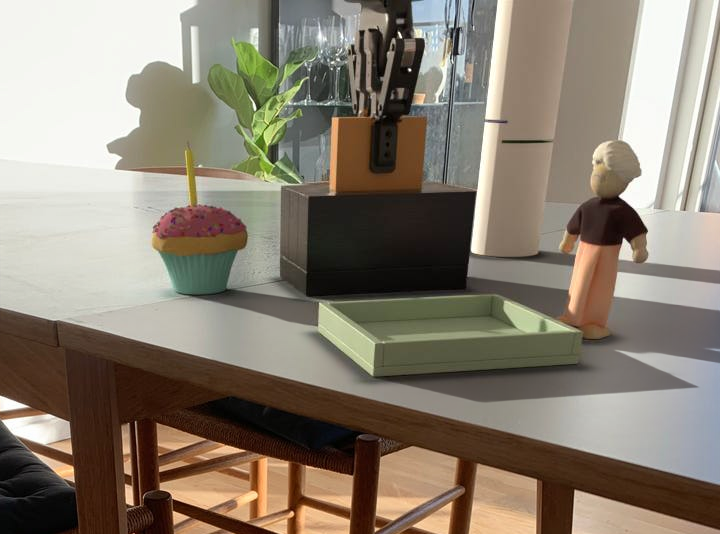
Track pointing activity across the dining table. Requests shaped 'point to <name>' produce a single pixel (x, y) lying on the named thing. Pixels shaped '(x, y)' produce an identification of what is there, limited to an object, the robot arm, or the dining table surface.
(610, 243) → the grandmother figurine
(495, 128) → the cylindrical container
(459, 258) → the wooden tissue box
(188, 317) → the dining table surface
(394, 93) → the robot arm
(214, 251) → the cupcake
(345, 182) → the toast
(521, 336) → the tray
